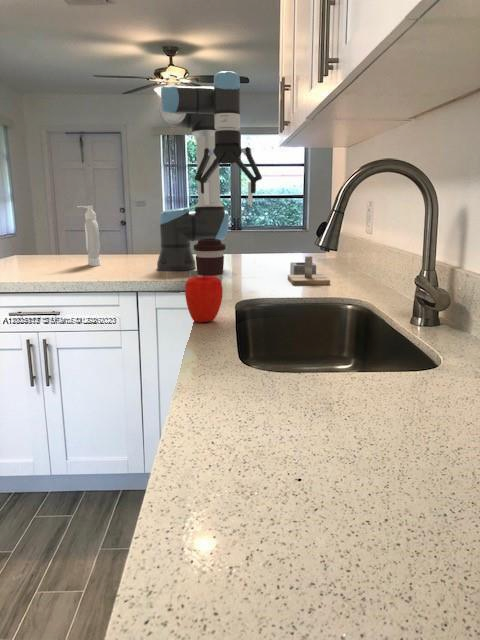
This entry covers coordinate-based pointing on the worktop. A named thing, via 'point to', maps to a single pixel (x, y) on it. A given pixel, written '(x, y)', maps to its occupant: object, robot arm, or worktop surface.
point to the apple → (203, 297)
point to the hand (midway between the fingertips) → (228, 204)
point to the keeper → (308, 276)
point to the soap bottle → (92, 237)
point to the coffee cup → (210, 257)
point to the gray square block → (300, 268)
